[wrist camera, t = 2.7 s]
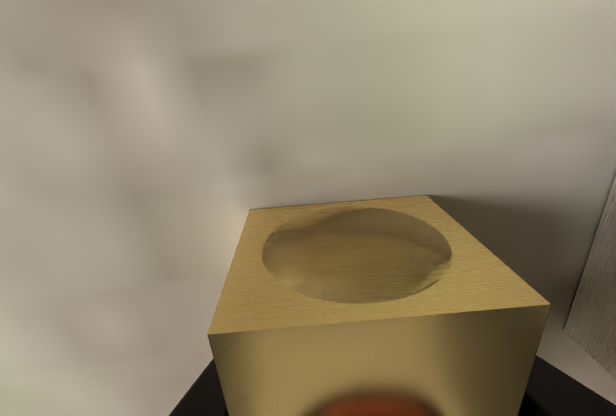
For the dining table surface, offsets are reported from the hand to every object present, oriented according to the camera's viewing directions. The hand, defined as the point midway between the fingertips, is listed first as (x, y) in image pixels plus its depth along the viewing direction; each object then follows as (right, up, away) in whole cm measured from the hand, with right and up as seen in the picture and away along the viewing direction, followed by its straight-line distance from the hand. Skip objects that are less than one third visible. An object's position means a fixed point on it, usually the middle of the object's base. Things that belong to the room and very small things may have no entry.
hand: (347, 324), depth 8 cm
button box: (0, 0, +1) cm, 1 cm away
